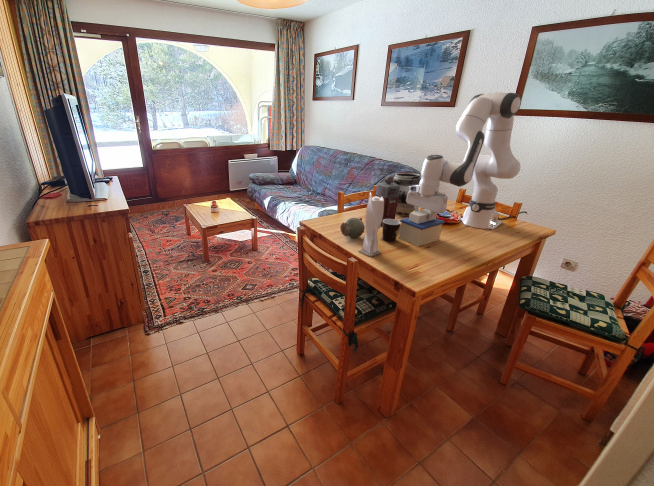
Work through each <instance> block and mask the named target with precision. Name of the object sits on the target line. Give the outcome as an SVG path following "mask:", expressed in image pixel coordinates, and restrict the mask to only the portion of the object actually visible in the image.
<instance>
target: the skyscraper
mask: <svg viewBox="0 0 654 486" xmlns="http://www.w3.org/2000/svg"><path fill="white" fill-rule="evenodd" d="M382 199H383V197H381V198H380V197H377V196H375V195H374V196H373V195H372V192H369V194H368V199H367V204H366V210H365V217H364V221H365V222H364V226H365V235H364V239H363V242H362V247H361V249H360V250H358V252H359V253H361V254H364V255H366V256H368V257H370V258H373V257H375V256H377V255H379V254H381V251H379V235H378V232H379V230H380V228H381V226H380V225H381V222H382V218H383V211H384V199H383V200H382Z"/></svg>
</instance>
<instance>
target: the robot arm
mask: <svg viewBox="0 0 654 486" xmlns="http://www.w3.org/2000/svg"><path fill="white" fill-rule="evenodd" d="M521 105H522V98H521V96H520V94H518V93H515V92H490V93H489V92H488V93H479V94H475V95H474V96H473V97H472V98H471V99H470V100H469V102H468V104H467V106H466V107H465V109H464V111H463V112H462V114H461V115H460V116H459V119H458V120H457V123H456V125H455V133H456V135H457V136H458V137H459V138H460V139H461V140H462V141H464V142H466V143H467V144H468V147H467V150H466V152H465V155H464V158H463V160H462V162H460V163H457V162H451V161H448V160H446V159H444V156H443V155H440V154H431V155H430V154H429V155H427V156H426V157H425V158H424V161H423V164H422V168H421V171H420V172H421V173H420V175H421V180H420V183H419V184H418V185H413V186H410V187H409V190H410V191H409V192H408V194H407V198H406V202H407V203H408V204H411V205H414V209H415V210H414V212H416V211H420V210H419V209H423V210H424V209H427V210H430V213H431V214H430V215H427V218H428V219H431V218H432V215H433V214H434V213H435V212H437V214H444V213H446V211H447V205H448V199H449V197H448V196H447V194H446V193H442V192H439V190H440V184H441V183H440V182H442V183H446V184H450V185H452V186H455V187H458V188H460V187H463V186H465V185H467V184H469V183H470V182H471V181H472V180H473V190H472V195H471V198H470V200H469V205H468V206H466V208H465V211H464V213H463V215H462V217H460V219H459V220H460V221H462V224H463V225H466V226H468V227H471V228H476V229H483V230H484V229H485V230H495V229H497V228H498V227H500V226H501V225H502V221H501V220H506V219H510V218H512V217H510V216H506V217H501V218H500V214H499V212H498V211H497V210H496V209H495V208H496V206H497V205H498V204H499V202H498V201H496V199H497V195H498V191H499V189H498V186H497V185H496V184H495V183H494V182H493V181H492V178H495V179H502V180H504V179H505V180H510V179H514V178H515V177H517V176H518V175H519V173H520V171H521V163H520V161H519V160H518V159H517V158H516V157H515V155H514V153H513V151H512V149H511V140H512V139H511V138H512V132H513V128H514V122H515V121H514V120H515V115H516V114H517V113H518V111H519V110H520V108H521ZM485 125H486V127H485ZM484 127H485V128H486V129H485V133H484V132H483V129H484ZM483 145H484V147H485V148H486V149H488V150H489V151H490V153H491V154H484V153H481V151H482V148H483ZM517 213H518V214H517V215H520V214H524V213H525V214H526V215H527V214H528V211H519V212H517Z"/></svg>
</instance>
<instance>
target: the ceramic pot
mask: <svg viewBox="0 0 654 486" xmlns="http://www.w3.org/2000/svg"><path fill="white" fill-rule="evenodd" d="M420 180H421V174H419V173H412V172H398V173H395V174H394V176H393V182H392V183H394V184H397V185H400V190H399V197H398V203H397V210H396V215H398V216H404V217H405V216H408V217H409V216H410V213H412V212H415V209H414V205H411V204H408V203H407V202H406V198H407V194H408V192H409V191H410V190H409V187H410V186H413V185H418V184H419V183H420Z"/></svg>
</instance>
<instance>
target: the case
mask: <svg viewBox="0 0 654 486" xmlns="http://www.w3.org/2000/svg"><path fill="white" fill-rule="evenodd" d="M430 214H431V213H430V210H427V209H424V208H423V209H420V210H419V211H416V212H415V211H413V212H412V213H410V215H408V217H409V221H412V222H414V223H417V224H419V223H423V222H427V221H430V220H434V219H437V216H438V213H437V212H435V213H434V214H433V215H432V218H431V219H428V218H427V215H430Z"/></svg>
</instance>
